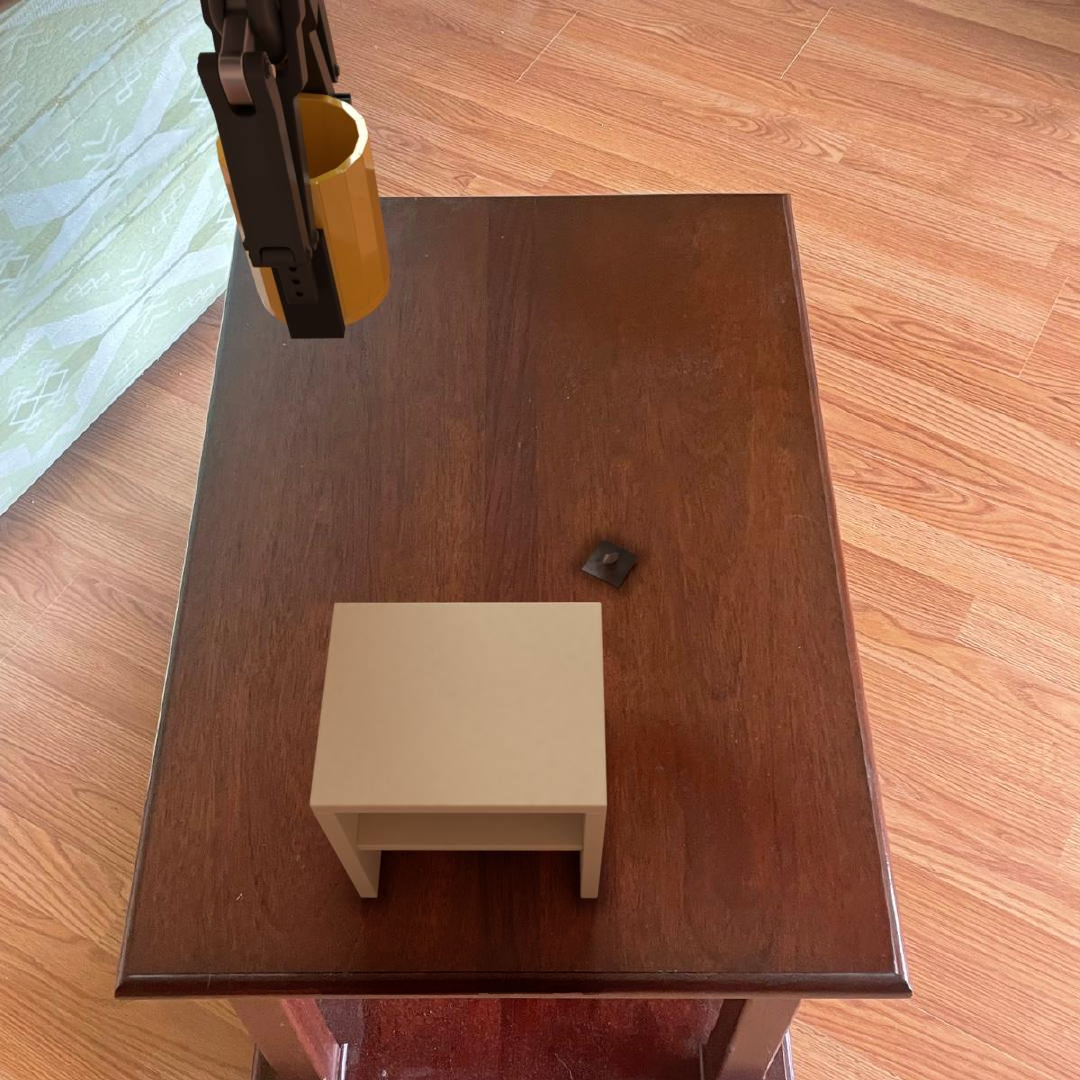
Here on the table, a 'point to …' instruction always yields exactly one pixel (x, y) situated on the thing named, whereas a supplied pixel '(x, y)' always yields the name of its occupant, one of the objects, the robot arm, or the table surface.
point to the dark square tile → (610, 563)
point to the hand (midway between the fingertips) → (325, 278)
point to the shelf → (462, 732)
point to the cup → (336, 207)
